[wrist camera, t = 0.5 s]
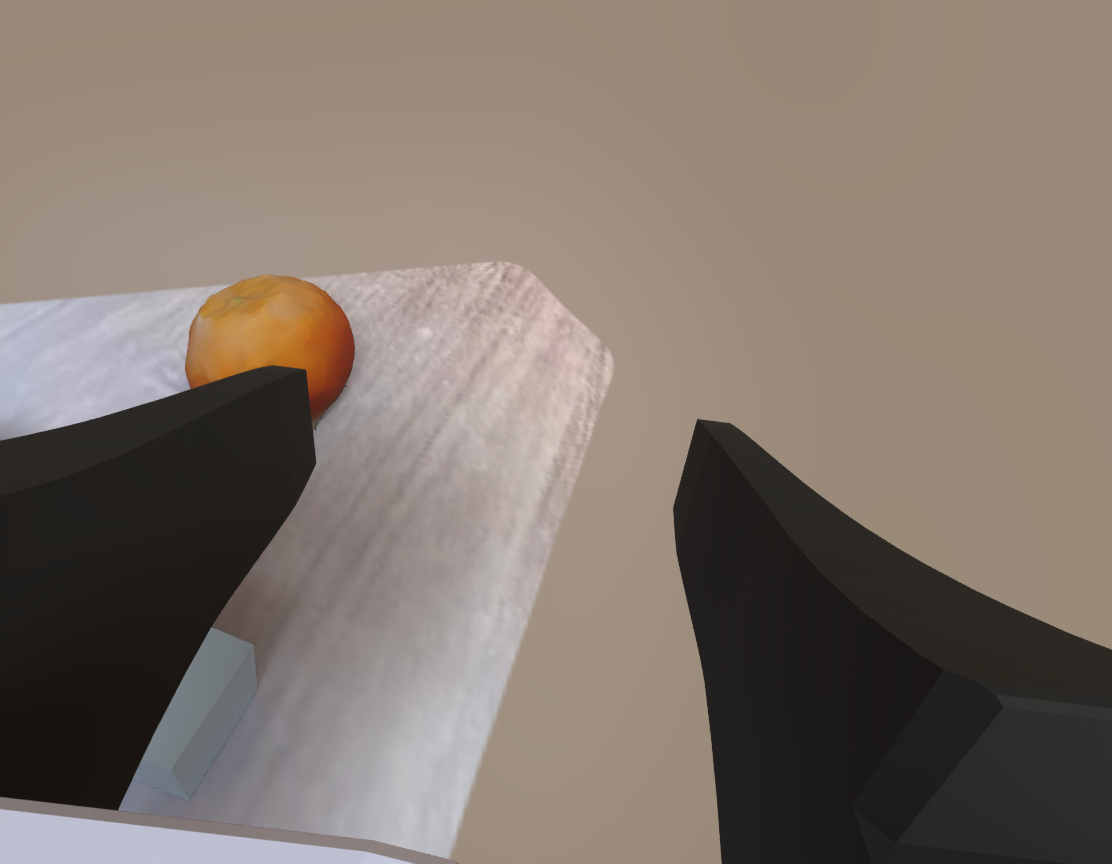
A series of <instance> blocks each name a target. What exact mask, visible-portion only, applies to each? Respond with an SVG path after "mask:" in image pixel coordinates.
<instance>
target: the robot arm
mask: <svg viewBox="0 0 1112 864" xmlns="http://www.w3.org/2000/svg"><path fill="white" fill-rule="evenodd" d="M315 465H316V456H315V447H314V438H313V428H312V419H311V409H310V400H309V391H308V381H307V372H306V369H300V368H292V367H284V366H276V365H271V366H265V367H260V368H256V369H253V370H249V371H245V372H242V373H239V374H235V375H232V376H229V377H226V378H223V379H220V380H217V381H214V382H211V383H208V384H205V385H202V386H199V387H196V388H193V389H190V390H187V391H184V392H181V393H178V394H175V395H172V396H169V397H166V398H163V399H159V400H156V401H153V402H149V403H146V404H143V405H139V406H136V407H133V408H130V409H126V410H123V411H120V412H116V413H113V414H110V415H106V416H103V417H100V418H96V419H92V420H88V421H85V422H81V423H77V424H73V425H69V426H65V427H61V428H57V429H52V430H48V431H43V432H39V433H35V434H30V435H26V436H21V437H17V438H12V439H7V440H2V441H0V864H458V863H457V862H455V861H453V860H449V859H445V858H441V857H437V856H433V855H429V854H425V853H421V852H417V851H413V850H409V849H405V848H401V847H397V846H393V845H389V844H385V843H381V842H377V841H373V840H365V839H356V838H348V837H339V836H330V835H322V834H313V833H305V832H296V831H287V830H279V829H270V828H262V827H253V826H244V825H236V824H227V823H219V822H210V821H201V820H193V819H184V818H176V817H167V816H158V815H150V814H141V813H133V812H124V811H118V809H119V806H120V804H121V802H122V800H123V798H124V796H125V794H126V791H127V789H128V787H129V785H130V783H131V781H132V779H133V777H134V775H135V773H136V771H137V769H138V767H139V764H140V762H141V760H142V758H143V756H144V754H145V752H146V750H147V748H148V746H149V744H150V742H151V739H152V737H153V735H154V733H155V731H156V729H157V727H158V725H159V723H160V722H161V720H162V718H163V716H164V714H165V712H166V710H167V708H168V706H169V704H170V702H171V700H172V698H173V697H174V695H175V693H176V691H177V689H178V687H179V685H180V683H181V681H182V679H183V677H184V675H185V674H186V672H187V670H188V668H189V666H190V665H191V663H192V661H193V659H194V657H195V656H196V654H197V652H198V650H199V648H200V647H201V645H202V643H203V641H204V639H205V638H206V636H207V634H208V632H209V631H210V629H211V627H212V625H213V623H214V622H215V620H216V619H217V617H218V616H219V614H220V613H221V611H222V609H223V608H224V606H225V605H226V603H227V602H228V600H229V599H230V597H231V596H232V595H233V593H234V592H235V590H236V589H237V588H238V586H239V585H240V583H241V582H242V581H243V579H244V578H245V576H246V575H247V574H248V572H249V571H250V569H251V568H252V567H253V565H254V564H255V562H256V561H257V560H258V558H259V557H260V555H261V554H262V553H263V551H264V550H265V548H266V547H267V546H268V544H269V543H270V542H271V540H272V539H273V537H274V536H275V534H276V533H277V532H278V530H279V529H280V527H281V526H282V524H283V523H284V522H285V520H286V519H287V517H288V516H289V514H290V513H291V511H292V510H293V508H294V507H295V505H296V503H297V501H298V500H299V498H300V496H301V494H302V492H303V490H304V488H305V486H306V484H307V482H308V480H309V478H310V475H311V473H312V471H313V469H314V467H315ZM673 513H674V528H675V541H676V551H677V557H678V562H679V567H680V571H681V576H682V580H683V585H684V589H685V594H686V598H687V602H688V607H689V611H690V615H691V620H692V624H693V629H694V632H695V637H696V641H697V645H698V650H699V655H700V659H701V665H702V670H703V676H704V681H705V689H706V697H707V707H708V715H709V724H710V732H711V742H712V752H713V762H714V773H715V783H716V794H717V806H718V819H719V833H720V846H721V859H722V864H1112V650H1111V649H1108V648H1106V647H1103V646H1100V645H1098V644H1095V643H1092V642H1090V641H1088V640H1085V639H1082V638H1080V637H1077V636H1074V635H1072V634H1070V633H1067V632H1065V631H1063V630H1060V629H1058V628H1056V627H1054V626H1051V625H1049V624H1047V623H1044V622H1042V621H1040V620H1038V619H1036V618H1033V617H1031V616H1029V615H1027V614H1024V613H1022V612H1020V611H1018V610H1015V609H1013V608H1011V607H1009V606H1006V605H1004V604H1002V603H1000V602H998V601H996V600H994V599H992V598H990V597H988V596H985V595H983V594H982V593H979V592H977V591H975V590H973V589H971V588H969V587H967V586H966V585H964V584H962V583H959V582H958V581H956V580H954V579H952V578H950V577H949V576H947V575H944V574H943V573H941V572H939V571H937V570H935V569H933V568H932V567H930V566H928V565H926V564H924V563H922V562H921V561H919V560H917V559H915V558H914V557H912V556H910V555H908V554H907V553H905V552H903V551H902V550H900V549H898V548H896V547H895V546H894V545H892V544H890V543H889V542H887V541H886V540H884V539H882V538H881V537H879V536H878V535H876V534H874V533H873V532H871V531H870V530H868V529H866V528H865V527H863V526H862V525H860V524H859V523H858V522H856V521H855V520H853V519H852V518H850V517H849V516H847V515H846V514H844V513H843V512H842V511H840V510H839V509H838V508H836V507H835V506H834V505H832V504H831V503H830V502H828V501H827V500H825V499H824V498H823V497H821V496H820V495H819V494H817V493H816V492H815V491H814V490H812V489H811V488H810V487H809V486H807V485H806V484H805V483H803V482H802V481H801V480H800V479H798V478H797V477H796V476H795V475H793V474H792V473H791V472H790V471H789V470H787V469H786V468H785V467H784V466H783V465H782V464H780V463H779V462H778V461H777V460H776V459H774V458H773V457H772V456H771V455H770V454H768V453H767V452H766V451H765V450H764V449H763V448H761V447H760V446H759V445H758V444H757V443H756V442H754V441H753V440H752V439H751V438H749V437H748V436H747V435H746V434H745V433H743V432H742V431H741V430H739V429H738V428H736V427H735V426H734V425H732V424H730V423H724V422H715V421H708V420H700V419H697V422H696V425H695V429H694V433H693V437H692V440H691V444H690V448H689V451H688V455H687V459H686V462H685V466H684V470H683V474H682V477H681V481H680V484H679V488H678V492H677V496H676V499H675V503H674V507H673Z"/></svg>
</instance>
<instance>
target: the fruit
mask: <svg viewBox="0 0 1112 864" xmlns="http://www.w3.org/2000/svg"><path fill="white" fill-rule="evenodd" d="M354 355H355V346H354V339H353V334H352V331H351V327H350V324H349V321H348V319H347V317H346V315H345V313H344V312H343V310H342V309H341V307H340V306H339V305H337V303H336V302H335V301H334V300H333V299H332V298H331V297H330V296H329V295H328V294H327V292H326V291H324V290H322V289H320V288H319V287H317V286H316V285H314V284H312V283H309V282H307V281H302V280H300V279H297V278H294V277H289V276H275V275H262V276H258V277H255V278H250V279H245V280H242V281H240V282H238V283H236V284H234V285H232V286H230V287H228V288H225V289H223V290H221V291H219V292H218V293H216V294H214V295H211V296H210V297H209V298H208V299H207V301H206V303H205V304H204V305H203V306H201V308H200V309H199V312H198V313H197V315H196V317H195V318H194V320H193V322H192V324H191V327H190V331H189V342H188V350H187V357H186V364H185V372H186V375H187V379H188V382H189V385H190V388H191V389H193V388H196V387H199V386H202V385H205V384H208V383H211V382H214V381H217V380H220V379H223V378H226V377H229V376H232V375H235V374H239V373H242V372H245V371H249V370H253V369H256V368H260V367H265V366H271V365H276V366H284V367H292V368H300V369H306V372H307V381H308V391H309V400H310V409H311V419H312V427H313V428H314V429H315V430H316V424H317V422H318V420H319V419H320V418H321V417H322V415H323V414H324V413H325V411H326V410H327V409H328V408H329V407H330V405H331V404H332V403H333V402H334V401H335V400H336V399H337V398H338V396H339V395H340V394H341V392H342V390H343V388H344V386H345V387H346V385H345V384H346V382H347V380H348V378H349V376H350V373H351V370H352V365H353V360H354Z"/></svg>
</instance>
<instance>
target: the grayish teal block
mask: <svg viewBox="0 0 1112 864" xmlns="http://www.w3.org/2000/svg"><path fill="white" fill-rule="evenodd" d="M257 691H258V688H257V676H256V663H255V651H254V644H252V643H249V642H247V641H244V640H242V639H239V638H237V637H234V636H232V635H229V634H227V633H225V632H222V631H220V630H217V629H215V628H212V627H211V629H210V631H209V632H208V634H207V636H206V638H205V639H204V641H203V643H202V645H201V647H200V648H199V650H198V652H197V654H196V656H195V657H194V659H193V661H192V663H191V665H190V666H189V668H188V670H187V672H186V674H185V675H184V677H183V679H182V681H181V683H180V685H179V687H178V689H177V691H176V693H175V695H174V697H173V698H172V700H171V702H170V704H169V706H168V708H167V710H166V712H165V714H164V716H163V718H162V720H161V722H160V723H159V725H158V727H157V729H156V731H155V733H154V735H153V737H152V739H151V742H150V744H149V746H148V748H147V750H146V752H145V754H144V756H143V758H142V760H141V762H140V764H139V767H138V769H137V771H136V773H135V775H134V777H133V780H135V781H138V782H140V783H143V784H146V785H148V786H151V787H153V788H156V789H159V790H161V791H164V792H166V793H169V794H172V795H174V796H177V797H179V798H182V799H185V800H187V801H190V799H191V797H192V796H193V794H194V793H195V791H196V789H197V788H198V786H199V785H200V783H201V781H202V780H203V778H204V776H205V775H206V773H207V772H208V770H209V768H210V767H211V765H212V764H213V762H214V760H215V759H216V757H217V755H218V754H219V752H220V751H221V749H222V747H223V746H224V744H225V743H226V741H227V739H228V738H229V736H230V735H231V733H232V731H233V730H234V728H235V726H236V725H237V723H238V722H239V720H240V718H241V717H242V715H243V714H244V712H245V710H246V709H247V707H248V705H249V704H250V702H251V701H252V699H253V697H254V696H255V694H256V693H257Z"/></svg>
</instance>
